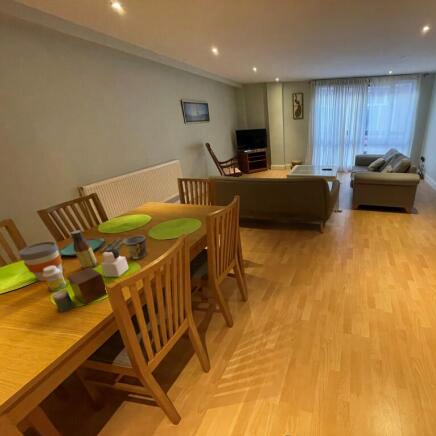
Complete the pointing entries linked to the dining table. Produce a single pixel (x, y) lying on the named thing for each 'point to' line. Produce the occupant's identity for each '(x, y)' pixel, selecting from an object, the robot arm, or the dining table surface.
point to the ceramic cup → (136, 246)
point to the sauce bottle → (83, 250)
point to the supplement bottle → (53, 278)
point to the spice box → (87, 285)
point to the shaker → (63, 300)
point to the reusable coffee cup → (41, 258)
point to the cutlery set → (92, 242)
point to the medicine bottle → (113, 263)
